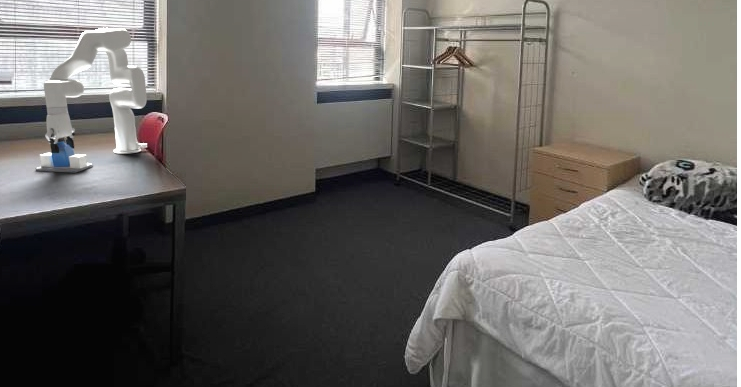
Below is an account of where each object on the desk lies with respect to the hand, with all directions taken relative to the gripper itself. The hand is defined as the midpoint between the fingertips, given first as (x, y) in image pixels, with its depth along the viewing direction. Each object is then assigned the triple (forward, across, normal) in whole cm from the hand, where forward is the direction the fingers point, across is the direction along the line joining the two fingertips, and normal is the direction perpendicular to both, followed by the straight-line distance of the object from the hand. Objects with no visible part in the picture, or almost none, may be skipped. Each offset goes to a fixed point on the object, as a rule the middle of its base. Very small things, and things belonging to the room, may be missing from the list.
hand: (63, 150), depth 230 cm
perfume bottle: (+7, 0, 0) cm, 7 cm away
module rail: (+8, 0, 0) cm, 8 cm away
